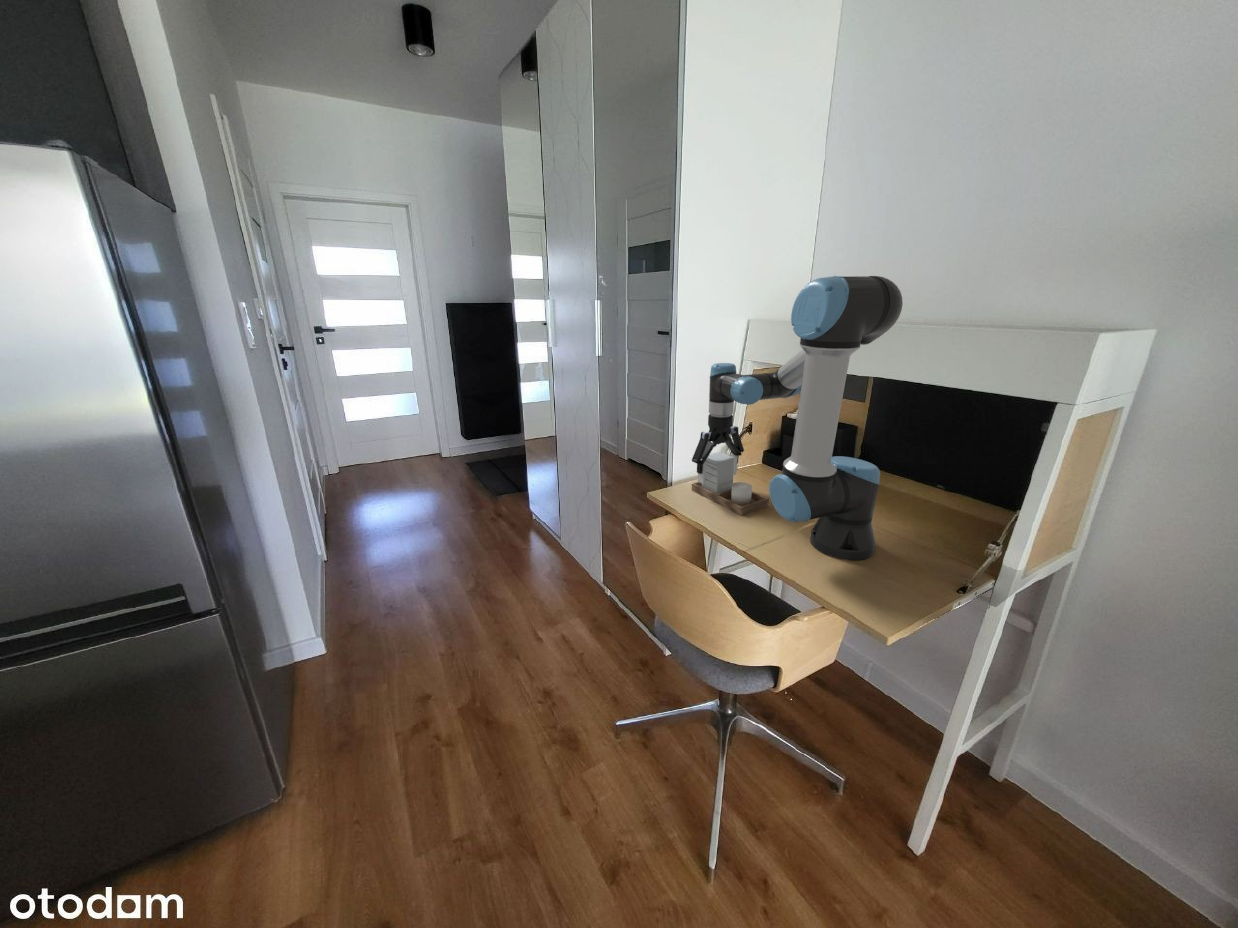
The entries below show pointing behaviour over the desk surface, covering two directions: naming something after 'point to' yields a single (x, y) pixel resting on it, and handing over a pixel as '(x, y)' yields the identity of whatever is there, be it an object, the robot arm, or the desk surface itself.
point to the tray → (725, 500)
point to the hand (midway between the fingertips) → (717, 477)
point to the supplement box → (719, 472)
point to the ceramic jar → (741, 493)
